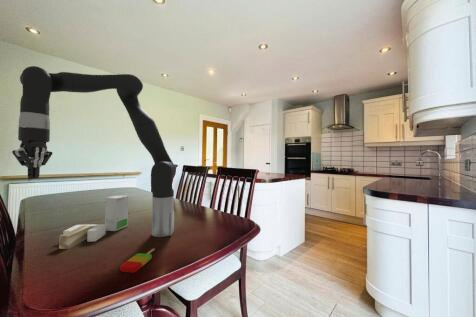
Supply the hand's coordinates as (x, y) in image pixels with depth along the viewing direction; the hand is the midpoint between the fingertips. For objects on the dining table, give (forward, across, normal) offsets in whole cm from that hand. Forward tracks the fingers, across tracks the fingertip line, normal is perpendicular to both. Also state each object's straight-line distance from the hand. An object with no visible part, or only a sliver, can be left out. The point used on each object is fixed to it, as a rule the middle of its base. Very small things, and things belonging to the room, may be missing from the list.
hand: (33, 178), depth 68 cm
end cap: (+27, -17, +7) cm, 33 cm away
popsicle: (+28, +4, +37) cm, 46 cm away
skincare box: (+27, -29, +14) cm, 42 cm away
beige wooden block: (+27, -13, +6) cm, 31 cm away
